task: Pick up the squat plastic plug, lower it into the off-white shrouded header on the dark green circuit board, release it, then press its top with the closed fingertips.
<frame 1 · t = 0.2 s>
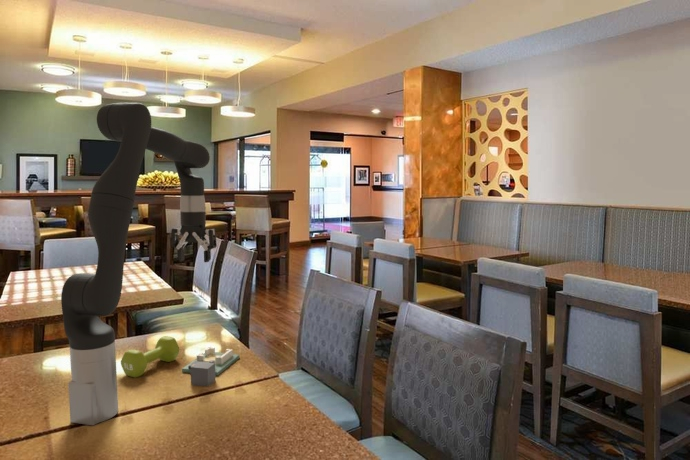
hand: (194, 261, 152), 29 cm above the table, fingers open, 8 cm apart
board: (211, 364, 143), on the table
plug: (203, 383, 130), on the table
dumbbell: (151, 368, 141), on the table
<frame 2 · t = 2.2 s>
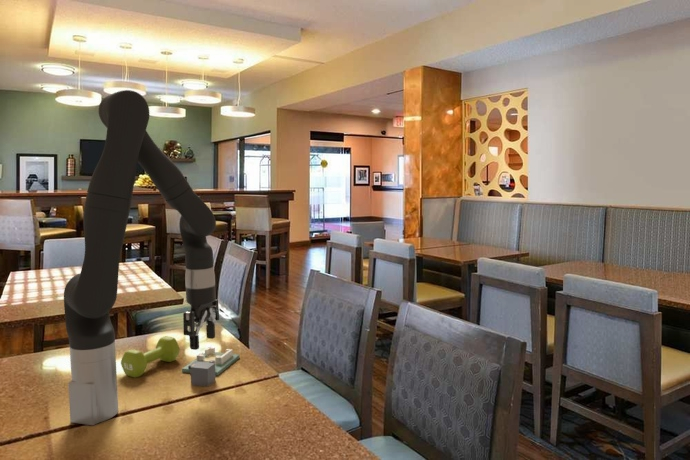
hand: (203, 343, 129), 11 cm above the table, fingers open, 8 cm apart
nothing on the table moved.
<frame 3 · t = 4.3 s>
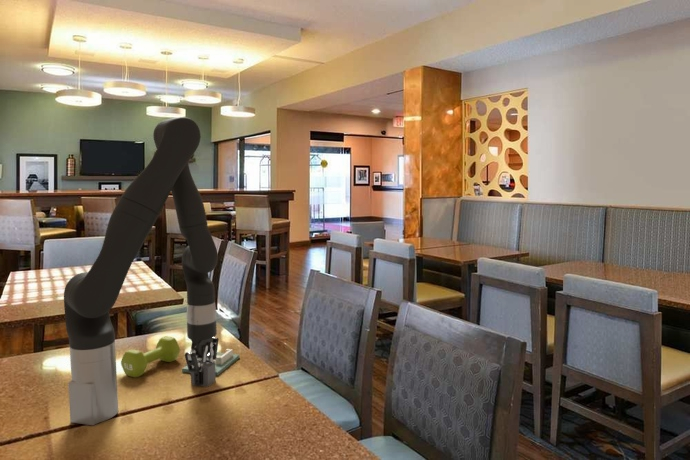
hand: (203, 380, 130), 0 cm above the table, fingers closed on plug, 4 cm apart
plug: (203, 382, 130), on the table, touching gripper
everything else where it was.
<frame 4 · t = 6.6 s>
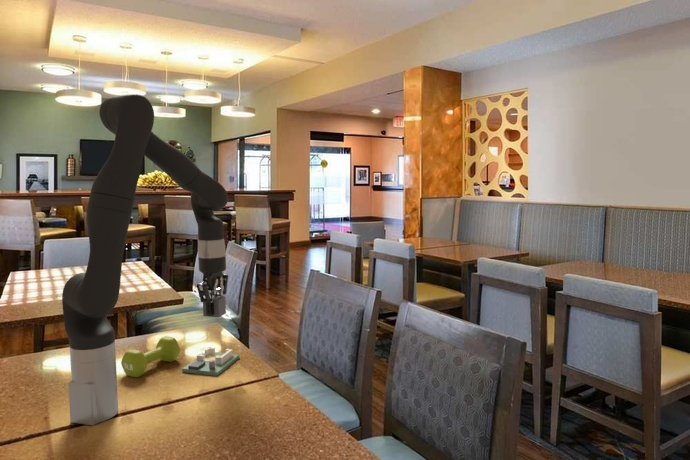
hand: (214, 312, 140), 16 cm above the table, fingers closed on plug, 4 cm apart
plug: (214, 314, 140), point 16 cm above the table, touching gripper
everything else where it was.
when the fingers open (3 cm above the table, at t = 9.3 s): plug stays where it is, resting on board.
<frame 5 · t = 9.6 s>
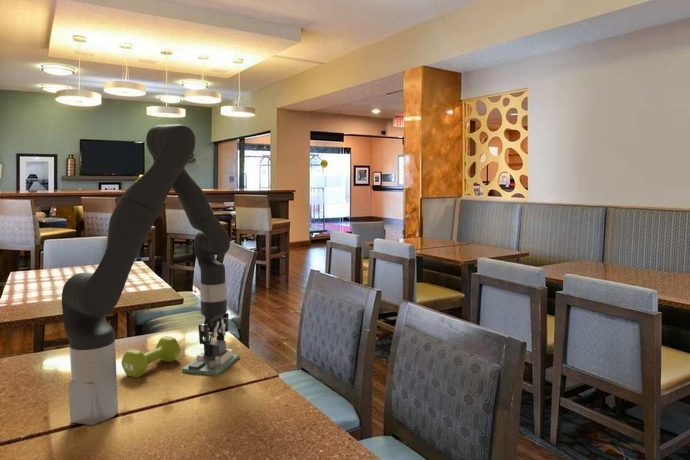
hand: (214, 351, 144), 3 cm above the table, fingers open, 6 cm apart
plug: (215, 358, 145), point 1 cm above the table, touching board
everything else where it was.
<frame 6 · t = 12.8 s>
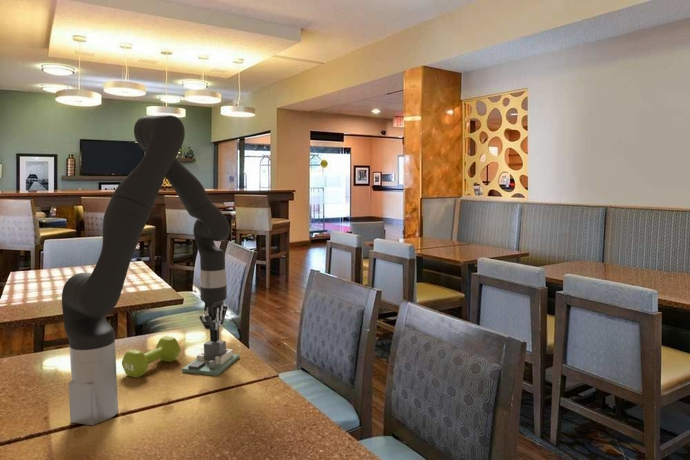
hand: (214, 341, 144), 7 cm above the table, fingers closed
nothing on the table moved.
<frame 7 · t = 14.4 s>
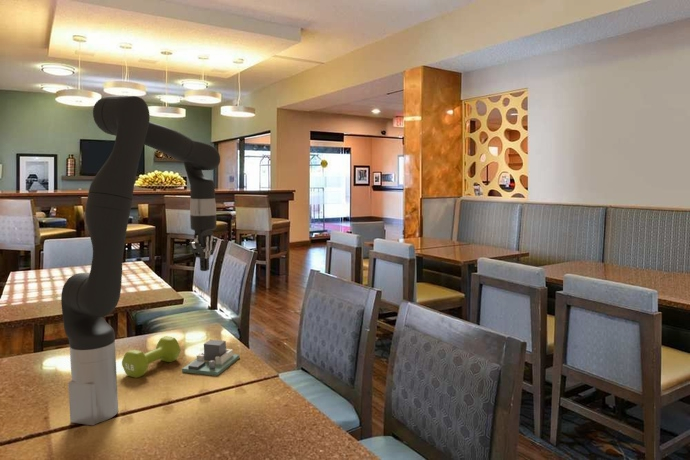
hand: (204, 270, 147), 27 cm above the table, fingers closed
nothing on the table moved.
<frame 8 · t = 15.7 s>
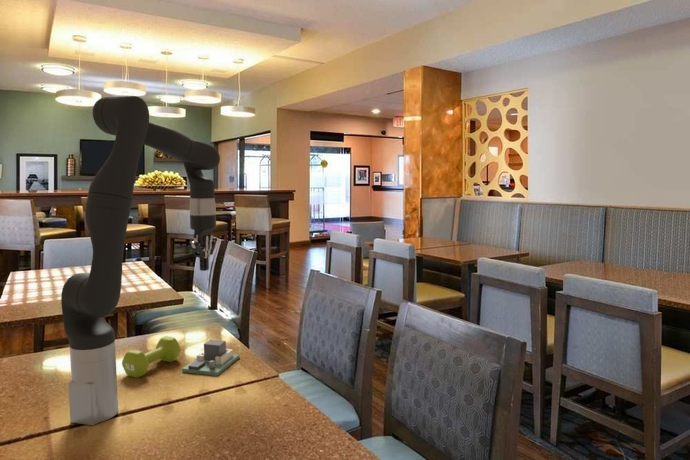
hand: (204, 270, 147), 27 cm above the table, fingers closed
nothing on the table moved.
at the end: plug 0.1 cm from the target spot on the board, point 1.1 cm above the board's base; plug tilted 0°; the gripper is holding nothing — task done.
